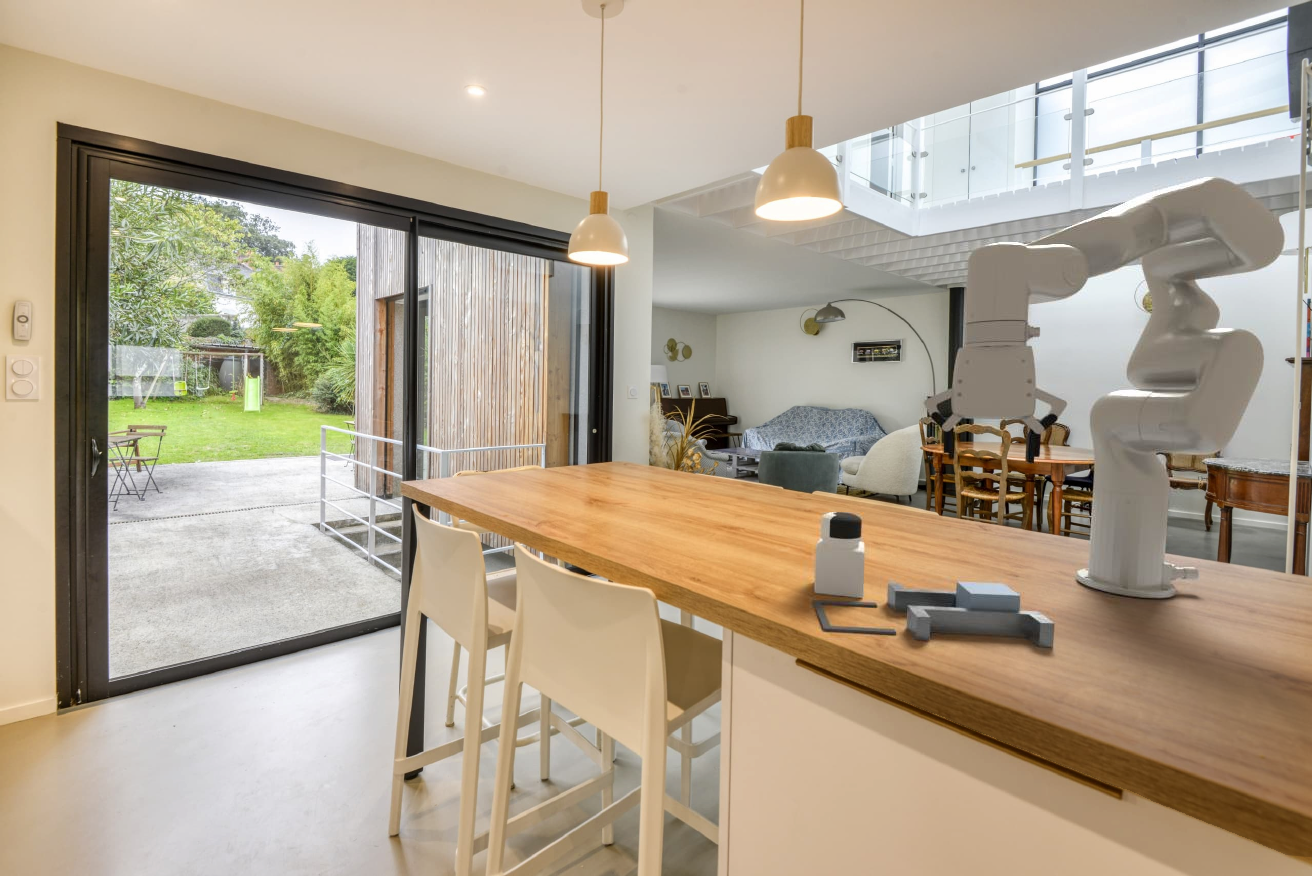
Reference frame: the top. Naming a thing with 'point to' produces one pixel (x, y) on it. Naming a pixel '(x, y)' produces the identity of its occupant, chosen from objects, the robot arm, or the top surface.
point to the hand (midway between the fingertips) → (989, 460)
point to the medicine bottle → (840, 556)
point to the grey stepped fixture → (964, 617)
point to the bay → (827, 626)
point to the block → (986, 596)
